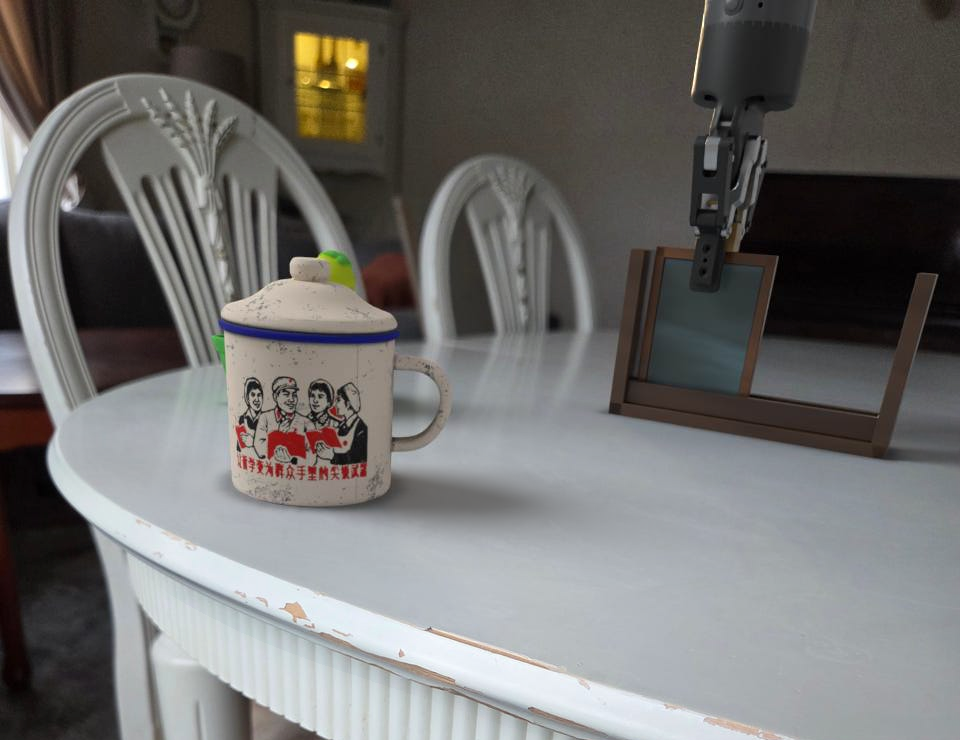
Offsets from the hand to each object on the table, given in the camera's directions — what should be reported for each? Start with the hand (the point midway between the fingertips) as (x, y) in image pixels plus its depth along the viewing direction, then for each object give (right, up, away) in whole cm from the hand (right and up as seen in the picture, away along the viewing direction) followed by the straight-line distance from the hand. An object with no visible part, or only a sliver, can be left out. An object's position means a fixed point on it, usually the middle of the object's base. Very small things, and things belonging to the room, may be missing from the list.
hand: (709, 290), depth 68 cm
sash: (-1, -8, +4) cm, 9 cm away
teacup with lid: (-26, -19, -20) cm, 38 cm away
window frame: (+4, -11, +3) cm, 11 cm away
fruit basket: (-32, -9, 0) cm, 34 cm away
